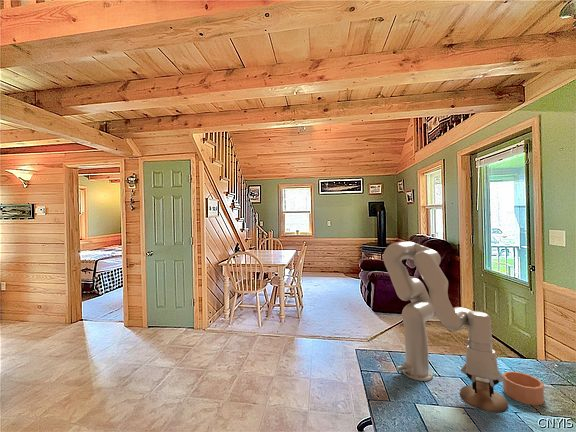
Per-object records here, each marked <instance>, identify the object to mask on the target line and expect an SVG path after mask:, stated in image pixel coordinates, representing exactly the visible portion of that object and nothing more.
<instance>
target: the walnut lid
mask: <svg viewBox="0 0 576 432" xmlns="http://www.w3.org/2000/svg"><path fill="white" fill-rule="evenodd" d="M475 379H476V387H477V393H475V390H473V389H472V384H468V385H464V386H462V387H461V388H460V391H459V393H460V396H461V398H462V399H463V401H465V402H467V403H468V404H469V405H471V406H473V407H475V408H477V409H480V410H483V411H487V412H493V413H494V412H495V413H501V412H502V413H503V412H505V411H506V410H508V408H509V402H508V400H507V399H506V397H505V396H504V395H502V394H500V392H497V391H495V390H494V394H492V397H490V393H489V379H486V378H482V377H477V376H476V378H475Z"/></svg>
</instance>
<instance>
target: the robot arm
mask: <svg viewBox="0 0 576 432" xmlns="http://www.w3.org/2000/svg"><path fill="white" fill-rule="evenodd" d="M382 259H383V264H384V266H385V268H386V271H387V272H388V275H389V277H390V281H391V283H392V286H393V288H394V290H395V293H396V295H397V297H398V298H399V299H400V300H401V301H404V302H408V301H410V303H408V304H406V305H405V306H404V307H403V309H402V312H401V318H402V323H403V329H404V352H405V361H403V364H402V365H397V366H396V367H395V368H396V369H395V370H396V371H397V372H400V371H402V373H403V375H405V376H406V377H408V378H409V379H411V380H414V381H419V382H420V381H421V382H428V381H431V380H433V378H434V373H433V371H432V370H431V369H430V365H429V363H430V362H429V340H428V331H427V327H426V322H428V321H429V320H431V319H432V318H433V317H434V315H435V314H436V316H437V318H438V320H439V321H440V323H441V324H442V325H443V327H444V328H446V329H447V330H449V331H451V332H457V331H460V330H461V329H462V328H465V327H467V331H468V332H467V336H468V338H467V339H464V343H465V344H466V345H467V346H466V351H465V363H464V364H463V366H462V367H461V368H460V372H461V373H463V375H466V377H467V378H468V379H469V380H470V381H471V385H472V389H473V390H475V393H477V387H476V377H480V378H484V379H488V380H489V393H490V397H492V394H494V391H495V390H494V387H495V386H496V385H498V384H499V383H503V381H505V379H504V377H503V374H502V373H501V372H500V371H501V370H499V366H498V360H497V355H496V351H495V349H493V335H492V334H493V333H492V319H491V316H490V315H489V314H488V313H486V312H483V311H477V310H471V309H468V308H464V307H460V306H455V307H453V305H452V303H451V301H450V299H449V293H448V292H449V291H448V290H449V280H448V278H447V277H446V275H445V273H444V272H443V271H442V269H441V267H440V265H441V261H442V260H441V259H442V258H441V254H439V252H438V251H436V250H434V249H432V248H429V247H427V246H424V245H421V244H419V243H416V242H412V241H409V240H408V241H407V240H405V241H397V242H393V243H391V244H389V245H388V246H387V247H386V248H385V250H384V251H383V256H382ZM408 259H409V260H412V261H413V264H414V266H415V268H416V269H417V271H418V272H419V275H420V276H421V278H422V280H423V282H422V281H421V280H420V279H419V278H417V277H411V276H410V274H409V272H408V269H407V267H406V265H405V264H403V262H402V261H404V260H408ZM424 283H425V284H424ZM425 285H426V286H425ZM426 287H427V288H426ZM427 289H428V291H427Z"/></svg>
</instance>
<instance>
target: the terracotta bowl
mask: <svg viewBox="0 0 576 432" xmlns="http://www.w3.org/2000/svg"><path fill="white" fill-rule="evenodd" d="M502 376H503V377H504V379H505V381H503V382H502V390H503V392H504V394H505V395H506V396H508V397H510V398H511V399H512V400H514V401H517V402H520V403H521V404H522V403H523V404H525V405H532V406H539V405H544V404H545V388H544V387H545V386H544V383H543V382H542V381H541V380H540V379H539V378H537V377H535V376H533V375H531V374H528V373H524V372H520V371H512V370H511V371H504V372H503V374H502Z"/></svg>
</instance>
